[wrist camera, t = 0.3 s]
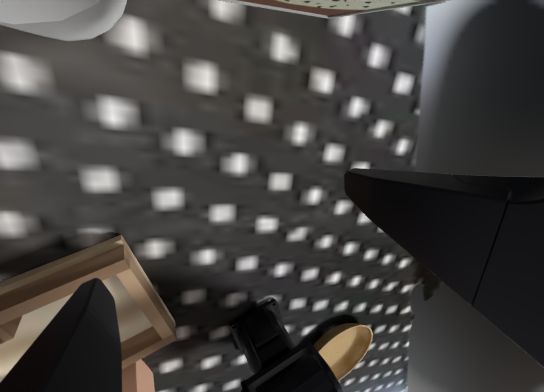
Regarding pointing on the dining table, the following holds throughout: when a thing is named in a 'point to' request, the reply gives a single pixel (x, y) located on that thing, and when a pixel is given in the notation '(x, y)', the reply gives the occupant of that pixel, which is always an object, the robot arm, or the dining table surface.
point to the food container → (334, 6)
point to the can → (62, 17)
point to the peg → (137, 378)
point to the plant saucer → (344, 347)
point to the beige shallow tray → (60, 287)
